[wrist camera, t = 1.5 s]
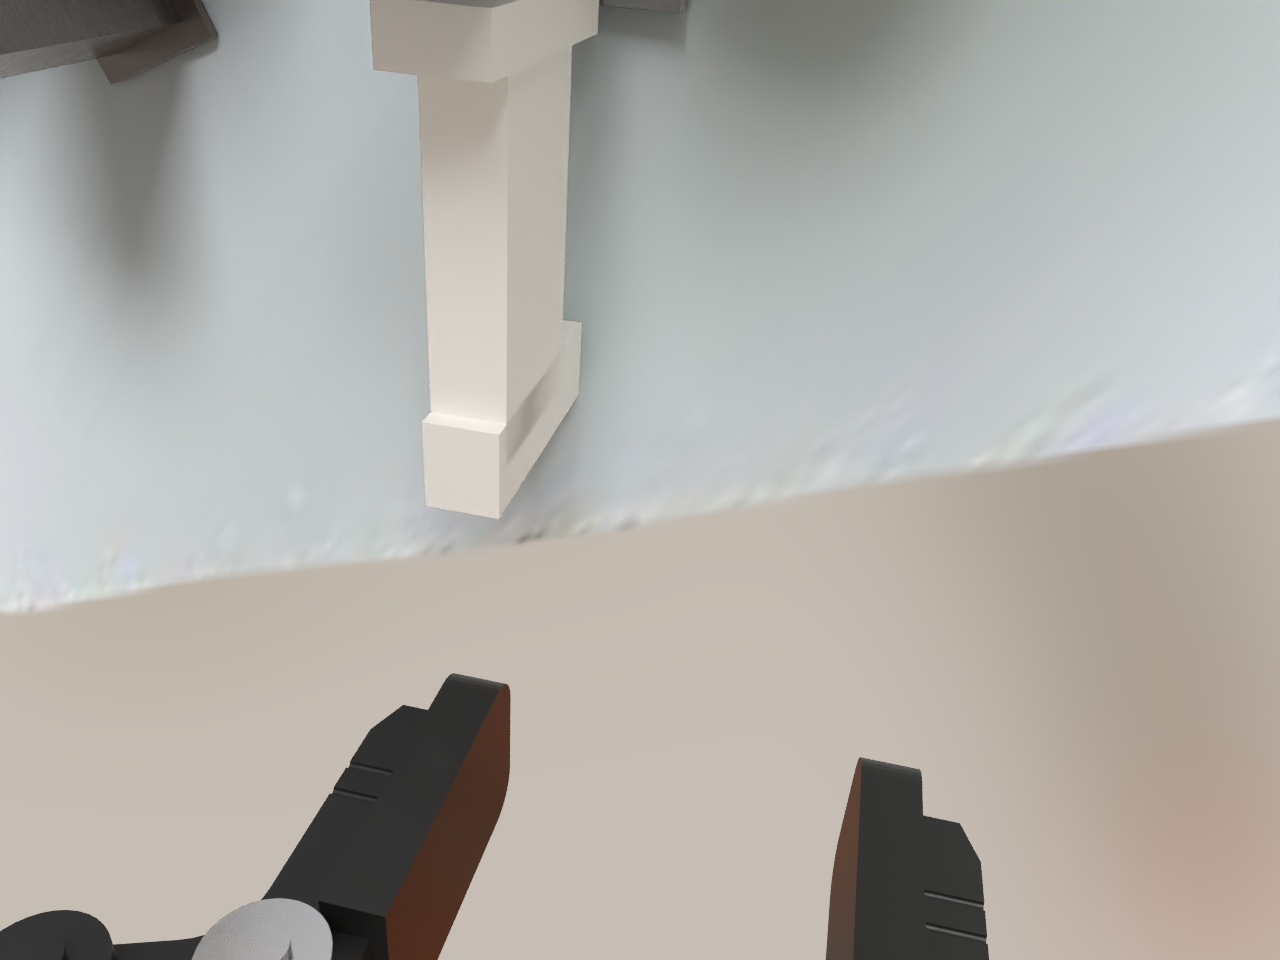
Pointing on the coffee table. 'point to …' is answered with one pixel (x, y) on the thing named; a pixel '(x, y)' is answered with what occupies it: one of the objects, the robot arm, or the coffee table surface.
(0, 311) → the coffee table surface
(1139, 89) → the coffee table surface
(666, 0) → the post
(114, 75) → the post
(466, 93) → the gate
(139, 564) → the coffee table surface
